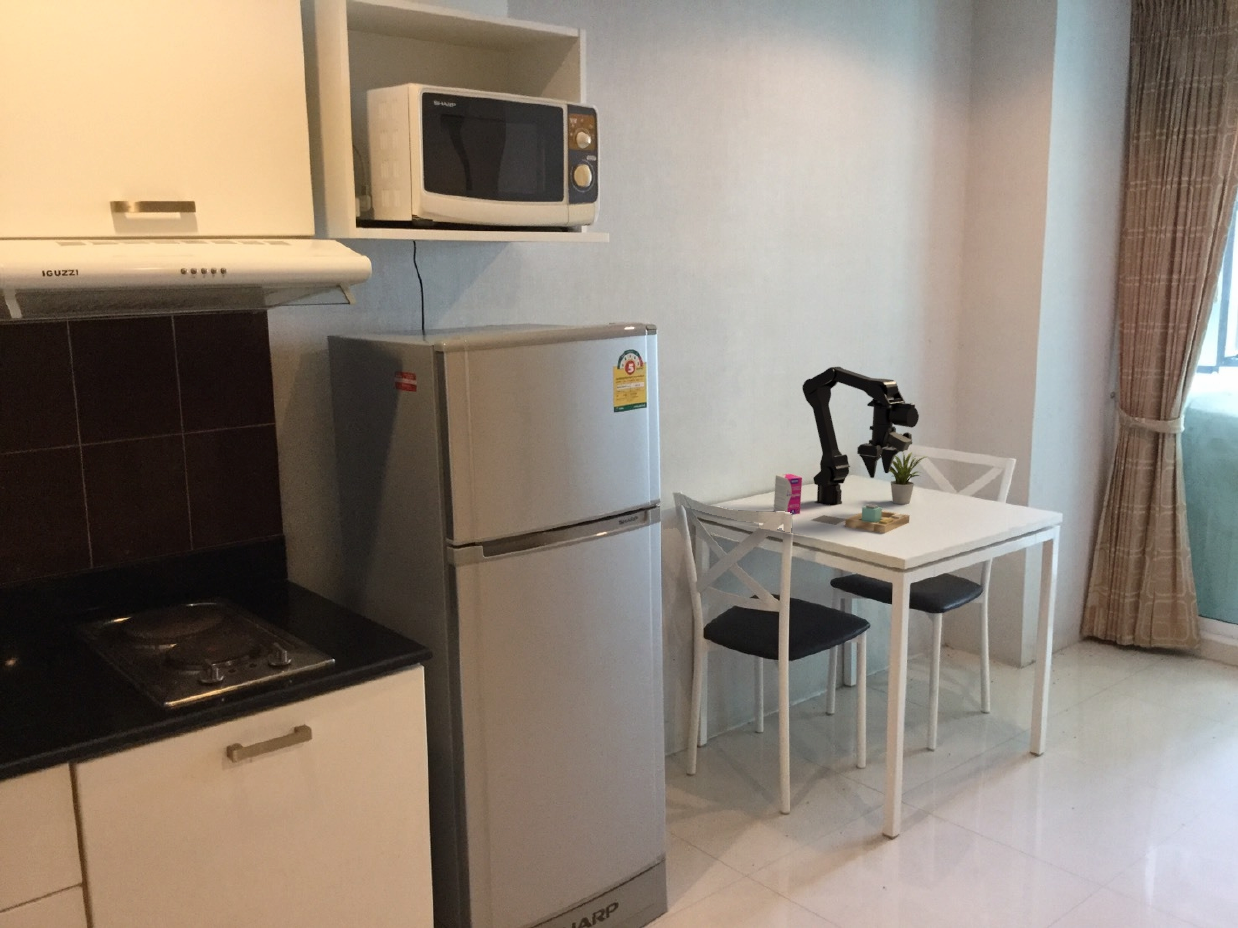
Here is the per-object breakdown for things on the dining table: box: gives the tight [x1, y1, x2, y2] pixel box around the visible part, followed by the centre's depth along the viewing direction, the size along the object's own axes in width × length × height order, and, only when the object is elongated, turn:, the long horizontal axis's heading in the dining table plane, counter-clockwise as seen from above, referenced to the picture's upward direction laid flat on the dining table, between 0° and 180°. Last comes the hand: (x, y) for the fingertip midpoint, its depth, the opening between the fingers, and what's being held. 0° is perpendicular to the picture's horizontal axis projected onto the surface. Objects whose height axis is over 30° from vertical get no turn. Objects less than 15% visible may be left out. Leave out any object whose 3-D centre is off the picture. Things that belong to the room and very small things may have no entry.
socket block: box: [844, 510, 911, 534], centre depth 304 cm, size 12×16×3 cm
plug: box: [861, 504, 883, 523], centre depth 300 cm, size 4×4×7 cm
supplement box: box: [773, 473, 803, 515], centre depth 316 cm, size 6×6×12 cm
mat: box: [811, 514, 846, 526], centre depth 309 cm, size 8×8×1 cm
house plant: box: [883, 452, 927, 505], centre depth 333 cm, size 14×14×16 cm
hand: (879, 475), depth 315 cm, fingers open, 9 cm apart
